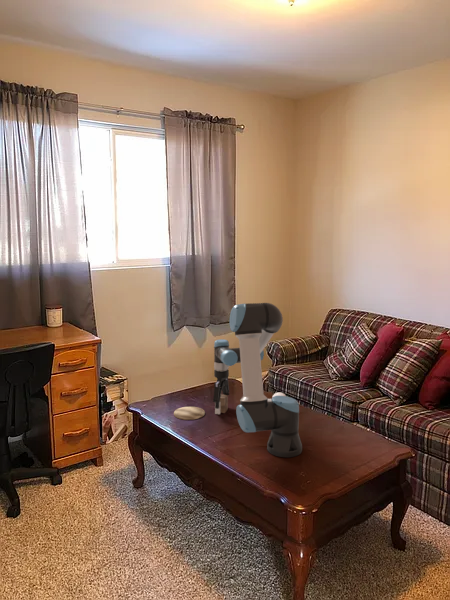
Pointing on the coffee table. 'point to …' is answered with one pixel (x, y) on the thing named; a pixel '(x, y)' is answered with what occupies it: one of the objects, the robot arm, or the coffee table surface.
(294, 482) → the coffee table surface
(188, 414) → the plate
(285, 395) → the mug
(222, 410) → the block
